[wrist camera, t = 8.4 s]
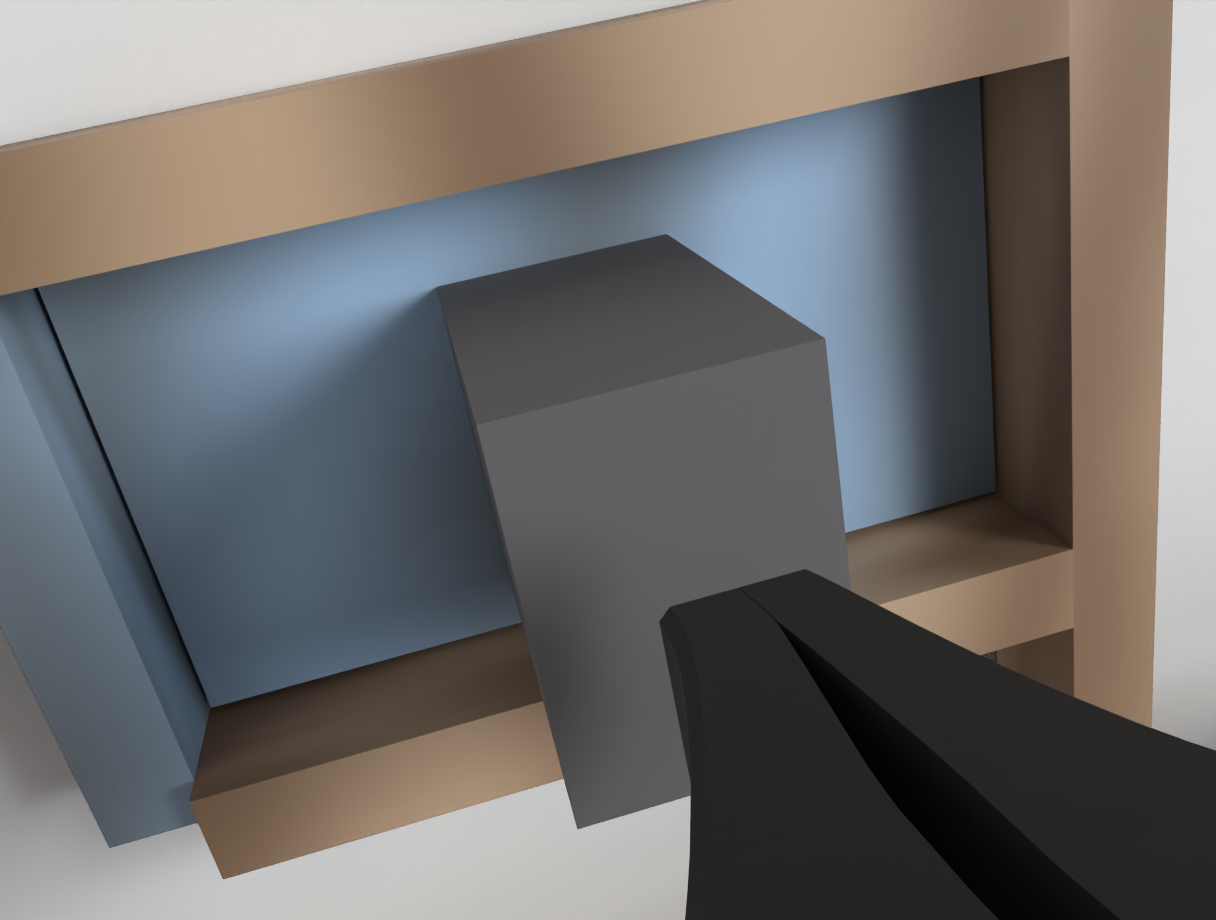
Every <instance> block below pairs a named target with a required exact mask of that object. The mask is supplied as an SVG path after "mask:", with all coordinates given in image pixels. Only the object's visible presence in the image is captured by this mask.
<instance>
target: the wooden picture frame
mask: <svg viewBox="0 0 1216 920" xmlns="http://www.w3.org/2000/svg"><path fill="white" fill-rule="evenodd" d="M1172 12H1173V0H702V1H697V2H693V3H688V4H683V5H678V6H673V7H668V8H664V9H659V10H654V11H649V12H644V13H640V14H635V15H630V16H625V17H620V18H615V19H611V20H606V21H601V22H596V23H591V24H586V25H582V26H577V27H572V28H567V29H562V30H558V31H553V32H548V33H543V34H538V35H533V36H529V37H524V38H519V39H514V40H509V41H504V42H500V43H495V44H490V45H485V46H480V47H475V48H471V49H466V50H461V51H456V52H451V53H447V54H442V55H437V56H432V57H427V58H422V59H418V60H413V61H408V62H403V63H398V64H393V65H389V66H384V67H379V68H374V69H369V70H365V71H360V72H355V73H350V74H345V75H340V76H336V77H331V78H326V79H321V80H316V81H311V82H307V83H302V84H297V85H292V86H287V87H282V88H278V89H273V90H268V91H263V92H258V93H254V94H249V95H244V96H239V97H234V98H229V99H225V100H220V101H215V102H210V103H205V104H200V105H196V106H191V107H186V108H181V109H176V110H172V111H167V112H162V113H157V114H152V115H147V116H143V117H138V118H133V119H128V120H123V121H118V122H114V123H109V124H104V125H99V126H94V127H89V128H85V129H80V130H75V131H70V132H65V133H61V134H56V135H51V136H46V137H41V138H36V139H32V140H27V141H22V142H17V143H12V144H7V145H3V146H0V627H1V629H2V631H3V633H4V635H5V637H6V639H7V641H8V643H9V645H10V647H11V649H12V651H13V653H14V655H15V657H16V659H17V661H18V663H19V665H20V667H21V669H22V672H23V674H24V676H25V678H26V680H27V682H28V684H29V686H30V688H31V690H32V692H33V694H34V696H35V698H36V700H37V702H38V704H39V706H40V708H41V710H42V712H43V714H44V716H45V718H46V720H47V722H48V724H49V726H50V728H51V730H52V732H53V734H54V736H55V738H56V740H57V742H58V744H59V746H60V749H61V751H62V753H63V755H64V757H65V759H66V761H67V763H68V765H69V767H70V769H71V771H72V773H73V775H74V777H75V779H76V781H77V783H78V785H79V787H80V789H81V791H82V793H83V795H84V797H85V799H86V801H87V803H88V805H89V807H90V809H91V811H92V813H93V815H94V817H95V819H96V821H97V823H98V825H99V828H100V830H101V832H102V834H103V836H104V838H105V840H106V842H107V844H108V846H109V848H111V847H115V846H118V845H122V844H125V843H129V842H132V841H136V840H139V839H142V838H146V837H149V836H153V835H156V834H160V833H163V832H167V831H170V830H174V829H177V828H181V827H184V826H187V825H191V824H194V823H198V824H199V826H200V828H201V831H202V833H203V835H204V837H205V840H206V842H207V844H208V846H209V849H210V851H211V853H212V855H213V858H214V860H215V862H216V864H217V867H218V869H219V871H220V873H221V876H222V878H223V879H226V878H230V877H233V876H236V875H240V874H243V873H247V872H250V871H253V870H257V869H260V868H263V867H267V866H270V865H274V864H277V863H280V862H284V861H287V860H290V859H294V858H297V857H301V856H304V855H307V854H311V853H314V852H318V851H321V850H324V849H328V848H331V847H334V846H338V845H341V844H345V843H348V842H351V841H355V840H358V839H361V838H365V837H368V836H372V835H375V834H378V833H382V832H385V831H388V830H392V829H395V828H399V827H402V826H405V825H409V824H412V823H415V822H419V821H422V820H426V819H429V818H432V817H436V816H439V815H442V814H446V813H449V812H453V811H456V810H459V809H463V808H466V807H469V806H473V805H476V804H480V803H483V802H486V801H490V800H493V799H496V798H500V797H503V796H507V795H510V794H513V793H517V792H520V791H524V790H527V789H530V788H534V787H537V786H540V785H544V784H547V783H551V782H554V781H557V780H561V779H564V777H563V774H562V770H561V766H560V762H559V759H558V755H557V751H556V748H555V744H554V740H553V737H552V733H551V729H550V725H549V722H548V718H547V714H546V711H545V707H544V703H543V700H542V696H541V692H540V688H539V685H538V681H537V677H536V674H535V670H534V666H533V663H532V659H531V655H530V651H529V648H528V644H527V640H526V637H525V633H524V629H523V626H522V622H521V618H520V615H519V611H518V607H517V603H516V600H515V596H514V592H513V589H512V585H511V581H510V577H509V573H508V569H507V565H506V561H505V557H504V553H503V550H502V546H501V542H500V538H499V534H498V530H497V526H496V522H495V518H494V514H493V510H492V506H491V502H490V498H489V494H488V490H487V486H486V482H485V478H484V474H483V470H482V466H481V462H480V458H479V454H478V450H477V446H476V442H475V439H474V435H473V431H472V427H471V423H470V419H469V415H468V411H467V407H466V403H465V399H464V395H463V391H462V387H461V383H460V379H459V375H458V371H457V367H456V363H455V359H454V355H453V351H452V347H451V343H450V339H449V335H448V331H447V328H446V324H445V320H444V316H443V312H442V308H441V304H440V300H439V296H438V292H437V288H436V287H438V286H442V285H446V284H451V283H455V282H459V281H464V280H468V279H472V278H477V277H481V276H486V275H490V274H494V273H499V272H503V271H507V270H512V269H516V268H520V267H525V266H529V265H533V264H538V263H542V262H546V261H551V260H555V259H559V258H564V257H568V256H572V255H577V254H581V253H585V252H590V251H594V250H599V249H603V248H607V247H612V246H616V245H620V244H625V243H629V242H633V241H638V240H642V239H646V238H651V237H655V236H659V235H664V234H668V235H669V236H671V237H672V238H674V239H675V240H677V241H678V242H680V243H681V244H683V245H684V246H686V247H687V248H689V249H690V250H692V251H693V252H695V253H696V254H698V255H699V256H701V257H702V258H704V259H705V260H707V261H708V262H710V263H712V264H713V265H715V266H716V267H718V268H719V269H721V270H722V271H724V272H725V273H727V274H728V275H730V276H731V277H733V278H734V279H736V280H737V281H739V282H740V283H742V284H743V285H745V286H746V287H748V288H749V289H751V290H752V291H754V292H756V293H757V294H759V295H760V296H762V297H763V298H765V299H766V300H768V301H769V302H771V303H772V304H774V305H775V306H777V307H778V308H780V309H781V310H783V311H784V312H786V313H787V314H789V315H790V316H792V317H793V318H795V319H797V320H798V321H800V322H801V323H803V324H804V325H806V326H807V327H809V328H810V329H812V330H813V331H815V332H816V333H818V334H819V335H821V336H822V337H824V338H825V339H826V348H827V358H828V368H829V378H830V388H831V397H832V407H833V417H834V427H835V437H836V447H837V456H838V466H839V476H840V486H841V496H842V506H843V515H844V525H845V535H846V545H847V555H848V564H849V574H850V584H851V591H852V592H854V593H856V594H858V595H860V596H862V597H863V598H865V599H867V600H869V601H871V602H873V603H875V604H877V605H879V606H881V607H883V608H885V609H887V610H889V611H891V612H893V613H895V614H897V615H899V616H901V617H903V618H905V619H907V620H909V621H911V622H913V623H915V624H917V625H918V626H920V627H922V628H925V629H927V630H929V631H931V632H933V633H935V634H937V635H939V636H941V637H943V638H945V639H947V640H949V641H951V642H953V643H955V644H957V645H959V646H961V647H963V648H966V649H968V650H970V651H972V652H974V653H976V654H978V655H983V654H986V653H990V652H993V651H996V655H997V664H1000V665H1002V666H1004V667H1006V668H1008V669H1010V670H1013V671H1015V672H1017V673H1019V674H1022V675H1024V676H1026V677H1028V678H1031V679H1033V680H1035V681H1037V682H1040V683H1042V684H1044V685H1046V686H1049V687H1051V688H1053V689H1056V690H1058V691H1061V692H1063V693H1066V694H1068V695H1070V696H1073V697H1075V698H1078V699H1080V700H1083V701H1085V702H1087V703H1090V704H1092V705H1095V706H1097V707H1100V708H1102V709H1105V710H1107V711H1109V712H1112V713H1114V714H1117V715H1119V716H1122V717H1124V718H1127V719H1129V720H1131V721H1134V722H1137V723H1139V724H1142V725H1144V726H1147V727H1150V728H1151V727H1152V693H1153V659H1154V625H1155V590H1156V556H1157V522H1158V488H1159V454H1160V420H1161V386H1162V352H1163V318H1164V284H1165V250H1166V216H1167V182H1168V148H1169V114H1170V80H1171V46H1172Z"/></svg>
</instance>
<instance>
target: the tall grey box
mask: <svg viewBox="0 0 1216 920" xmlns="http://www.w3.org/2000/svg"><path fill="white" fill-rule="evenodd" d="M436 288H437V292H438V296H439V300H440V304H441V308H442V312H443V316H444V320H445V324H446V328H447V331H448V335H449V339H450V343H451V347H452V351H453V355H454V359H455V363H456V367H457V371H458V375H459V379H460V383H461V387H462V391H463V395H464V399H465V403H466V407H467V411H468V415H469V419H470V423H471V427H472V431H473V435H474V439H475V442H476V446H477V450H478V454H479V458H480V462H481V466H482V470H483V474H484V478H485V482H486V486H487V490H488V494H489V498H490V502H491V506H492V510H493V514H494V518H495V522H496V526H497V530H498V534H499V538H500V542H501V546H502V550H503V553H504V557H505V561H506V565H507V569H508V573H509V577H510V581H511V585H512V589H513V592H514V596H515V600H516V603H517V607H518V611H519V615H520V618H521V622H522V626H523V629H524V633H525V637H526V640H527V644H528V648H529V651H530V655H531V659H532V663H533V666H534V670H535V674H536V677H537V681H538V685H539V688H540V692H541V696H542V700H543V703H544V707H545V711H546V714H547V718H548V722H549V725H550V729H551V733H552V737H553V740H554V744H555V748H556V751H557V755H558V759H559V762H560V766H561V770H562V774H563V777H564V781H565V785H566V788H567V792H568V796H569V799H570V803H571V807H572V811H573V814H574V818H575V822H576V825H577V829H580V828H583V827H587V826H590V825H593V824H597V823H600V822H603V821H607V820H610V819H613V818H617V817H620V816H623V815H627V814H630V813H633V812H637V811H640V810H644V809H647V808H650V807H654V806H657V805H660V804H664V803H667V802H670V801H674V800H677V799H680V798H684V797H687V796H690V795H691V783H690V778H689V773H688V767H687V762H686V757H685V752H684V747H683V742H682V737H681V732H680V726H679V721H678V716H677V711H676V706H675V701H674V696H673V690H672V685H671V680H670V675H669V670H668V665H667V660H666V654H665V649H664V644H663V639H662V634H661V629H660V624H659V621H660V620H661V618H662V617H663V616H664V614H665V613H666V611H667V610H668V609H669V607H671V606H674V605H678V604H681V603H685V602H689V601H692V600H696V599H699V598H703V597H707V596H710V595H714V594H717V593H721V592H724V591H728V590H732V589H735V588H739V587H742V586H746V585H749V584H753V583H757V582H760V581H764V580H767V579H771V578H775V577H778V576H782V575H785V574H789V573H792V572H796V571H800V570H803V569H807V570H809V571H811V572H813V573H815V574H818V575H820V576H822V577H824V578H826V579H828V580H830V581H832V582H834V583H836V584H838V585H840V586H842V587H844V588H846V589H848V590H850V591H851V584H850V574H849V564H848V555H847V545H846V535H845V525H844V515H843V506H842V496H841V486H840V476H839V466H838V456H837V447H836V437H835V427H834V417H833V407H832V397H831V388H830V378H829V368H828V358H827V348H826V339H825V338H824V337H822V336H821V335H819V334H818V333H816V332H815V331H813V330H812V329H810V328H809V327H807V326H806V325H804V324H803V323H801V322H800V321H798V320H797V319H795V318H793V317H792V316H790V315H789V314H787V313H786V312H784V311H783V310H781V309H780V308H778V307H777V306H775V305H774V304H772V303H771V302H769V301H768V300H766V299H765V298H763V297H762V296H760V295H759V294H757V293H756V292H754V291H752V290H751V289H749V288H748V287H746V286H745V285H743V284H742V283H740V282H739V281H737V280H736V279H734V278H733V277H731V276H730V275H728V274H727V273H725V272H724V271H722V270H721V269H719V268H718V267H716V266H715V265H713V264H712V263H710V262H708V261H707V260H705V259H704V258H702V257H701V256H699V255H698V254H696V253H695V252H693V251H692V250H690V249H689V248H687V247H686V246H684V245H683V244H681V243H680V242H678V241H677V240H675V239H674V238H672V237H671V236H669V235H668V234H664V235H659V236H655V237H651V238H646V239H642V240H638V241H633V242H629V243H625V244H620V245H616V246H612V247H607V248H603V249H599V250H594V251H590V252H585V253H581V254H577V255H572V256H568V257H564V258H559V259H555V260H551V261H546V262H542V263H538V264H533V265H529V266H525V267H520V268H516V269H512V270H507V271H503V272H499V273H494V274H490V275H486V276H481V277H477V278H472V279H468V280H464V281H459V282H455V283H451V284H446V285H442V286H438V287H436Z"/></svg>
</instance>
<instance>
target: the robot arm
mask: <svg viewBox="0 0 1216 920" xmlns="http://www.w3.org/2000/svg"><path fill="white" fill-rule="evenodd" d="M659 624H660V629H661V634H662V639H663V644H664V649H665V654H666V660H667V665H668V670H669V675H670V680H671V685H672V690H673V696H674V701H675V706H676V711H677V716H678V721H679V726H680V732H681V737H682V742H683V747H684V752H685V757H686V762H687V767H688V773H689V778H690V783H691V819H690V861H689V877H688V892H687V905H686V916H685V920H1216V751H1215V750H1212V749H1209V748H1206V747H1203V746H1200V745H1197V744H1194V743H1191V742H1188V741H1185V740H1182V739H1180V738H1177V737H1174V736H1172V735H1169V734H1166V733H1163V732H1161V731H1158V730H1155V729H1153V728H1150V727H1147V726H1144V725H1142V724H1139V723H1137V722H1134V721H1131V720H1129V719H1127V718H1124V717H1122V716H1119V715H1117V714H1114V713H1112V712H1109V711H1107V710H1105V709H1102V708H1100V707H1097V706H1095V705H1092V704H1090V703H1087V702H1085V701H1083V700H1080V699H1078V698H1075V697H1073V696H1070V695H1068V694H1066V693H1063V692H1061V691H1058V690H1056V689H1053V688H1051V687H1049V686H1046V685H1044V684H1042V683H1040V682H1037V681H1035V680H1033V679H1031V678H1028V677H1026V676H1024V675H1022V674H1019V673H1017V672H1015V671H1013V670H1010V669H1008V668H1006V667H1004V666H1002V665H1000V664H997V663H995V662H993V661H991V660H989V659H987V658H984V657H982V656H980V655H978V654H976V653H974V652H972V651H970V650H968V649H966V648H963V647H961V646H959V645H957V644H955V643H953V642H951V641H949V640H947V639H945V638H943V637H941V636H939V635H937V634H935V633H933V632H931V631H929V630H927V629H925V628H922V627H920V626H918V625H917V624H915V623H913V622H911V621H909V620H907V619H905V618H903V617H901V616H899V615H897V614H895V613H893V612H891V611H889V610H887V609H885V608H883V607H881V606H879V605H877V604H875V603H873V602H871V601H869V600H867V599H865V598H863V597H862V596H860V595H858V594H856V593H854V592H852V591H850V590H848V589H846V588H844V587H842V586H840V585H838V584H836V583H834V582H832V581H830V580H828V579H826V578H824V577H822V576H820V575H818V574H815V573H813V572H811V571H809V570H807V569H803V570H800V571H796V572H792V573H789V574H785V575H782V576H778V577H775V578H771V579H767V580H764V581H760V582H757V583H753V584H749V585H746V586H742V587H739V588H735V589H732V590H728V591H724V592H721V593H717V594H714V595H710V596H707V597H703V598H699V599H696V600H692V601H689V602H685V603H681V604H678V605H674V606H671V607H669V609H668V610H667V611H666V613H665V614H664V616H663V617H662V618H661V620H660V621H659Z"/></svg>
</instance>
